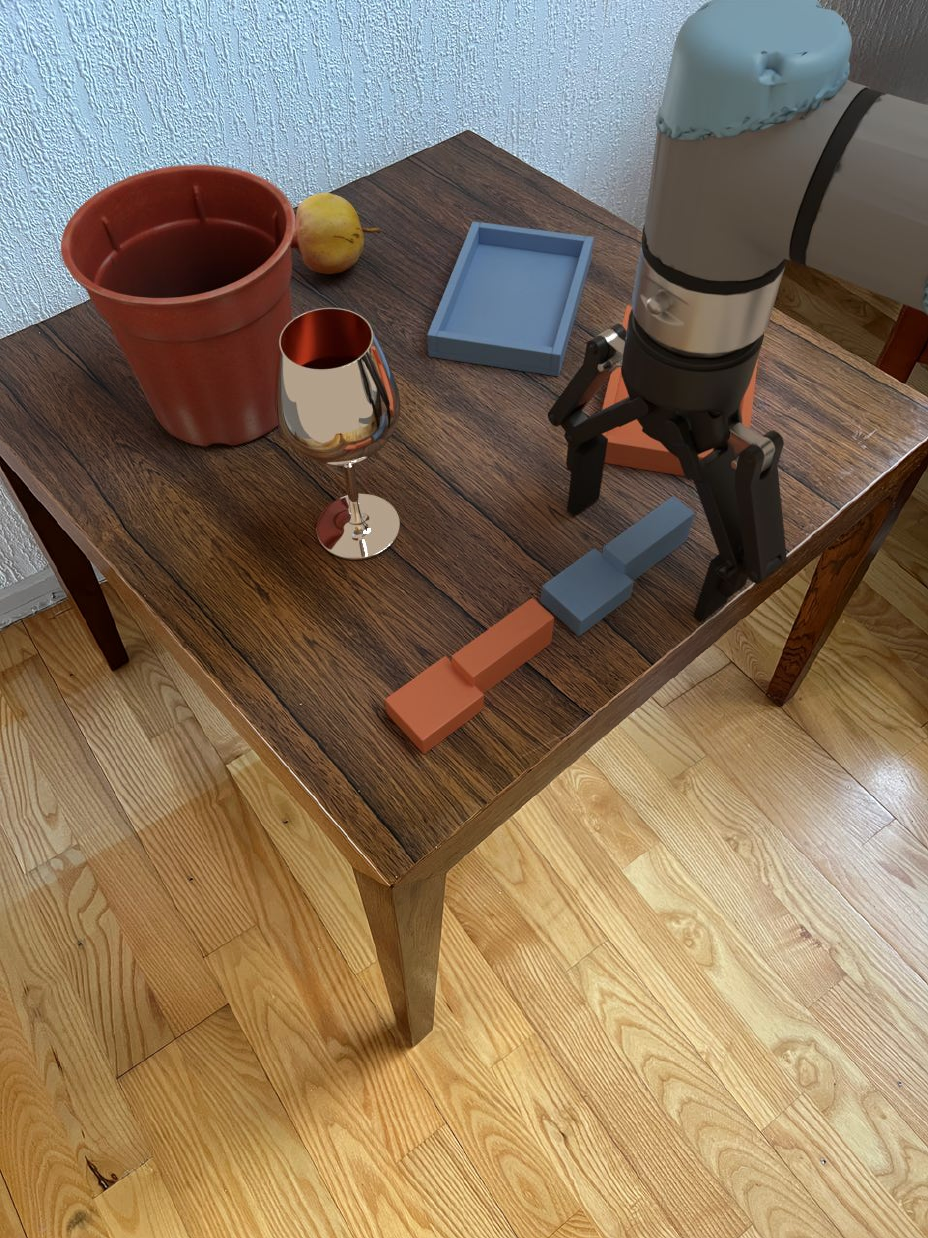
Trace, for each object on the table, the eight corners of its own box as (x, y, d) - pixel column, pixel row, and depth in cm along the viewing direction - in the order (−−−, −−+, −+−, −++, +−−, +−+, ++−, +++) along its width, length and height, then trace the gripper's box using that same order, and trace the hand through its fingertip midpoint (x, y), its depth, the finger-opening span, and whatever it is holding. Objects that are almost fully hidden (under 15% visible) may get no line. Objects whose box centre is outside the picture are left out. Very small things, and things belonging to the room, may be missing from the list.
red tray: (755, 346, 84) (762, 323, 82) (739, 485, 75) (746, 464, 73) (623, 326, 85) (626, 304, 83) (592, 461, 77) (595, 439, 75)
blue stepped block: (657, 516, 73) (664, 488, 71) (696, 547, 72) (705, 519, 69) (540, 601, 69) (542, 575, 66) (578, 637, 67) (582, 611, 65)
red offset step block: (522, 615, 68) (523, 589, 66) (560, 651, 67) (563, 625, 64) (386, 713, 64) (382, 690, 62) (423, 755, 62) (421, 732, 60)
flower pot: (330, 330, 86) (302, 158, 73) (320, 466, 77) (286, 298, 63) (146, 336, 86) (84, 166, 73) (115, 473, 77) (37, 307, 63)
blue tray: (591, 259, 91) (594, 236, 89) (558, 376, 82) (560, 354, 80) (472, 243, 93) (472, 220, 91) (428, 356, 84) (426, 334, 82)
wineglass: (291, 506, 74) (242, 316, 60) (389, 474, 76) (366, 281, 61) (325, 584, 70) (281, 400, 55) (428, 548, 72) (413, 360, 57)
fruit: (371, 176, 89) (263, 190, 88) (382, 200, 84) (268, 215, 83) (379, 249, 94) (277, 264, 93) (391, 276, 89) (283, 292, 87)
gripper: (501, 243, 57) (497, 486, 75) (833, 474, 46) (736, 692, 64) (591, 194, 60) (566, 440, 78) (926, 402, 49) (807, 631, 67)
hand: (643, 555), depth 71 cm, fingers open, 12 cm apart
